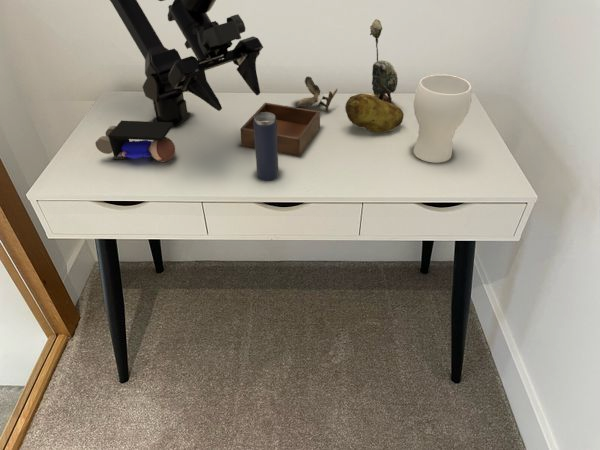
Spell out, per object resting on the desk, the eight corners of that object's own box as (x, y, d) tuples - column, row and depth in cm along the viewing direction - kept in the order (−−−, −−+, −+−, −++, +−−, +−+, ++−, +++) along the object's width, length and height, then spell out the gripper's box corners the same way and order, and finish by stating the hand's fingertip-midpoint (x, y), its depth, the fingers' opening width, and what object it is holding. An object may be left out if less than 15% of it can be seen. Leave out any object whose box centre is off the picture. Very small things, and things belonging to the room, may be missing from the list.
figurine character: (102, 169, 102) (171, 168, 99) (89, 136, 98) (160, 134, 95) (117, 152, 108) (182, 151, 105) (104, 120, 103) (172, 117, 100)
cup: (428, 172, 99) (441, 100, 89) (396, 147, 106) (405, 79, 97) (469, 158, 103) (486, 89, 93) (436, 136, 110) (448, 69, 100)
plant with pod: (369, 119, 116) (378, 31, 103) (357, 98, 125) (363, 14, 112) (403, 117, 117) (415, 29, 104) (389, 96, 126) (399, 12, 113)
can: (253, 178, 97) (249, 120, 89) (262, 167, 100) (258, 110, 92) (273, 182, 96) (271, 123, 88) (281, 171, 99) (280, 113, 91)
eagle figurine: (339, 98, 122) (306, 84, 124) (337, 81, 115) (303, 67, 118) (323, 123, 121) (291, 109, 123) (321, 108, 114) (287, 93, 116)
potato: (402, 140, 108) (407, 105, 103) (342, 136, 110) (344, 102, 105) (402, 122, 115) (406, 89, 110) (345, 118, 116) (347, 85, 111)
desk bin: (241, 145, 107) (240, 128, 104) (265, 118, 117) (265, 102, 114) (299, 156, 103) (299, 139, 101) (319, 127, 113) (320, 111, 110)
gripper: (165, 13, 81) (215, 97, 82) (253, -10, 91) (296, 66, 92) (148, 49, 90) (193, 125, 91) (230, 25, 101) (269, 94, 101)
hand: (240, 101), depth 94 cm, fingers open, 9 cm apart
